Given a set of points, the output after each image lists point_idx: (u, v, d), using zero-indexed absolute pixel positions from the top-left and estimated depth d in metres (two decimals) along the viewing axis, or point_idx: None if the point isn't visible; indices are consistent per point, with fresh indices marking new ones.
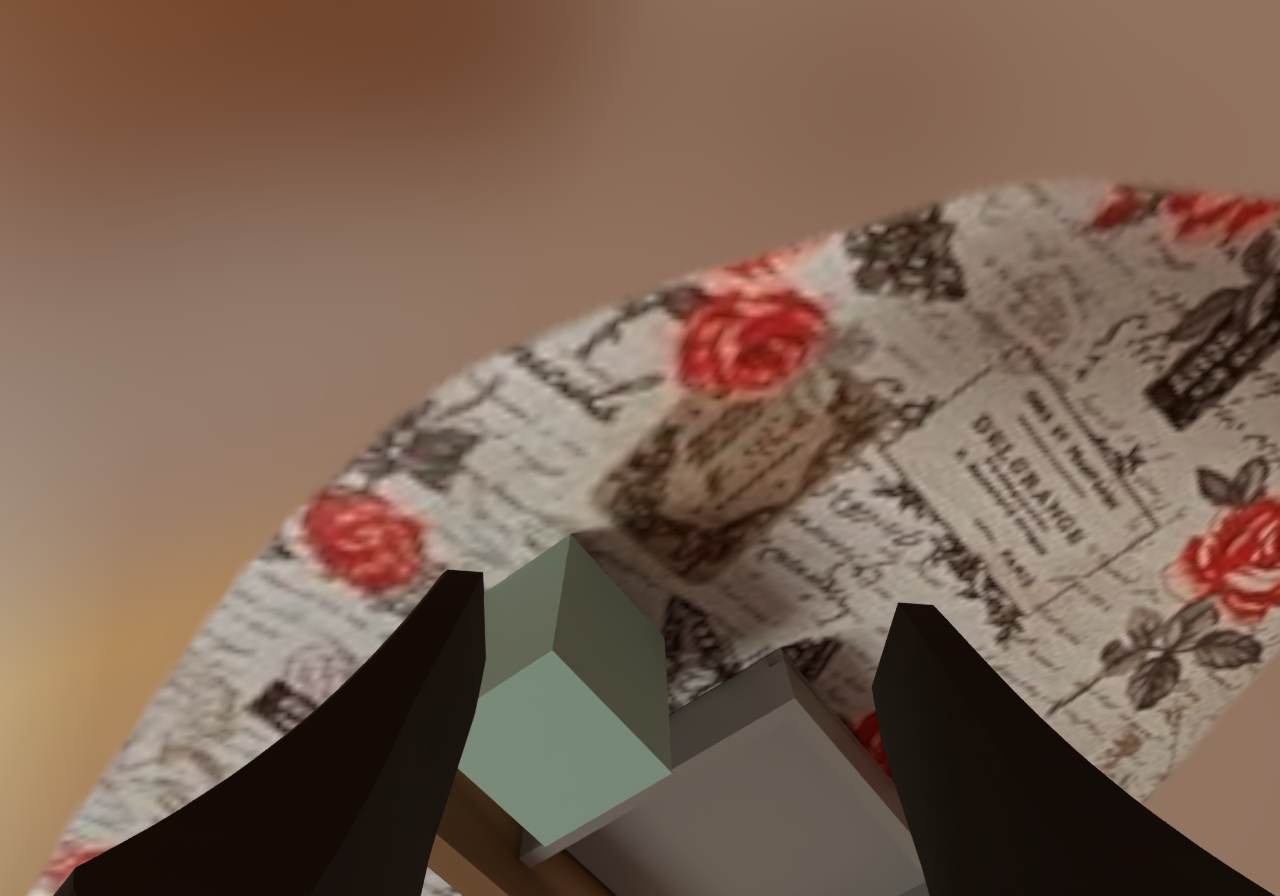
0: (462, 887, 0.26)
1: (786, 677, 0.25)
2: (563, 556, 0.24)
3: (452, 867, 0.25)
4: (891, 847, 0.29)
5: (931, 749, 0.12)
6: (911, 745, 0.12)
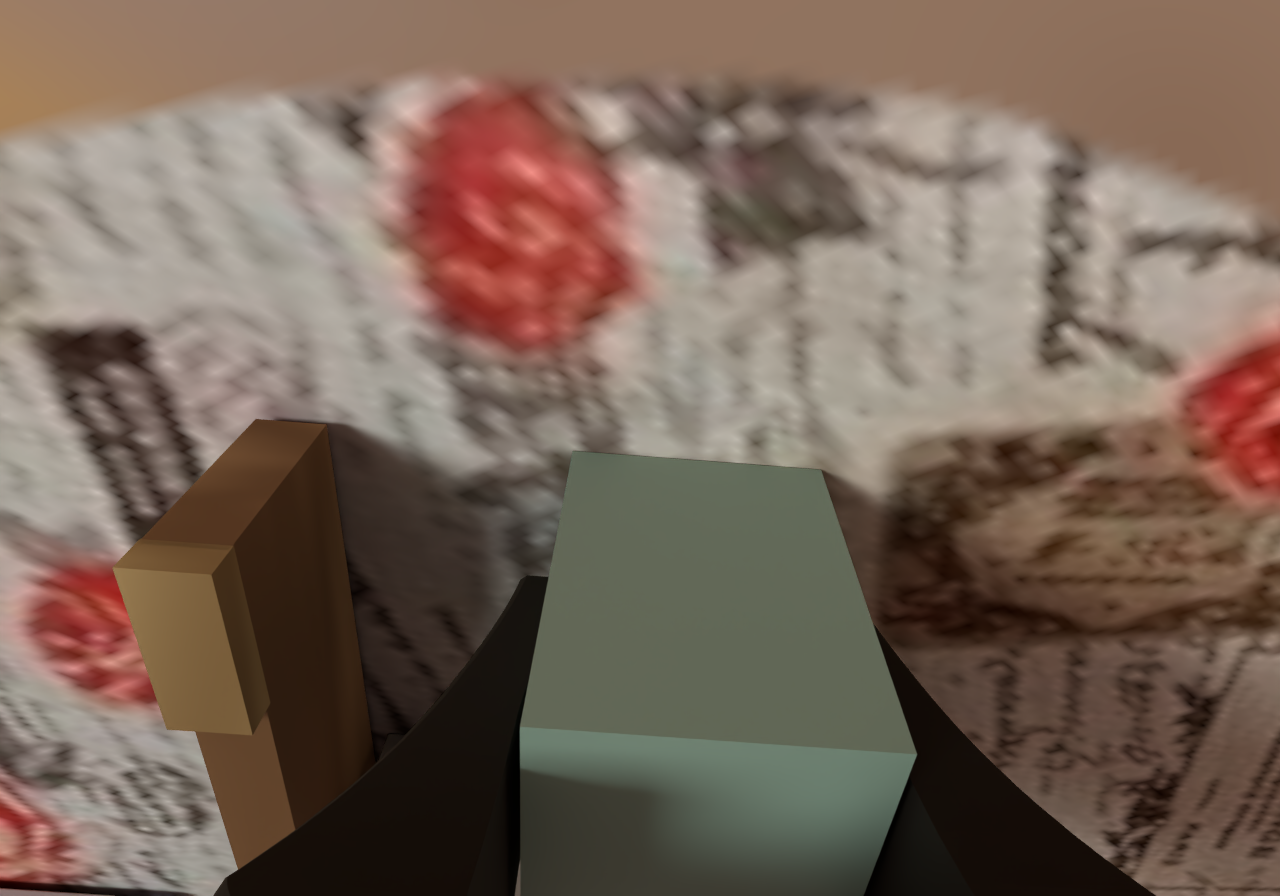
0: (249, 858, 0.14)
1: None
2: (825, 509, 0.13)
3: (260, 828, 0.13)
4: None
5: None
6: None
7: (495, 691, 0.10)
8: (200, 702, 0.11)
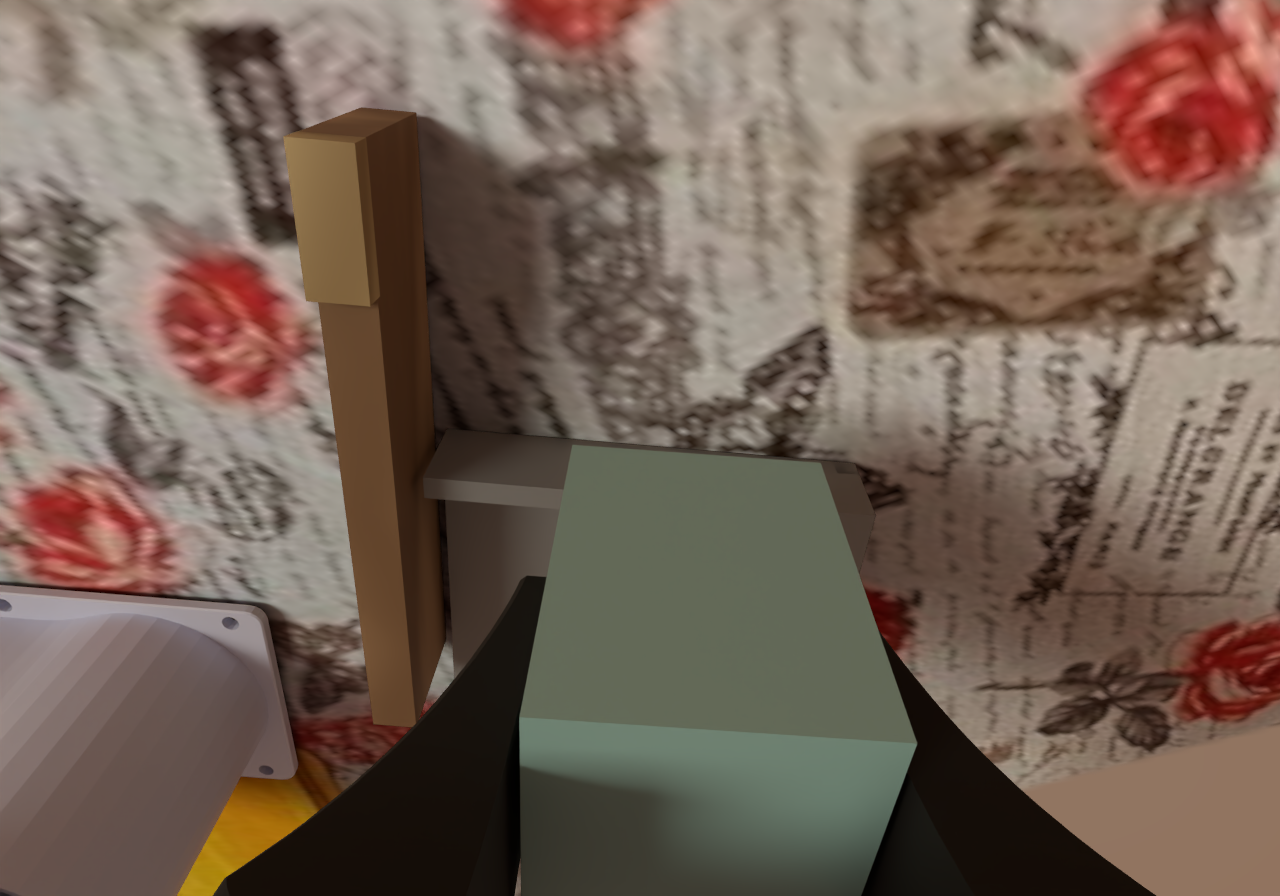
0: (350, 460, 0.18)
1: (863, 492, 0.20)
2: (825, 502, 0.13)
3: (362, 427, 0.17)
4: None
5: None
6: None
7: (494, 691, 0.10)
8: (334, 271, 0.15)
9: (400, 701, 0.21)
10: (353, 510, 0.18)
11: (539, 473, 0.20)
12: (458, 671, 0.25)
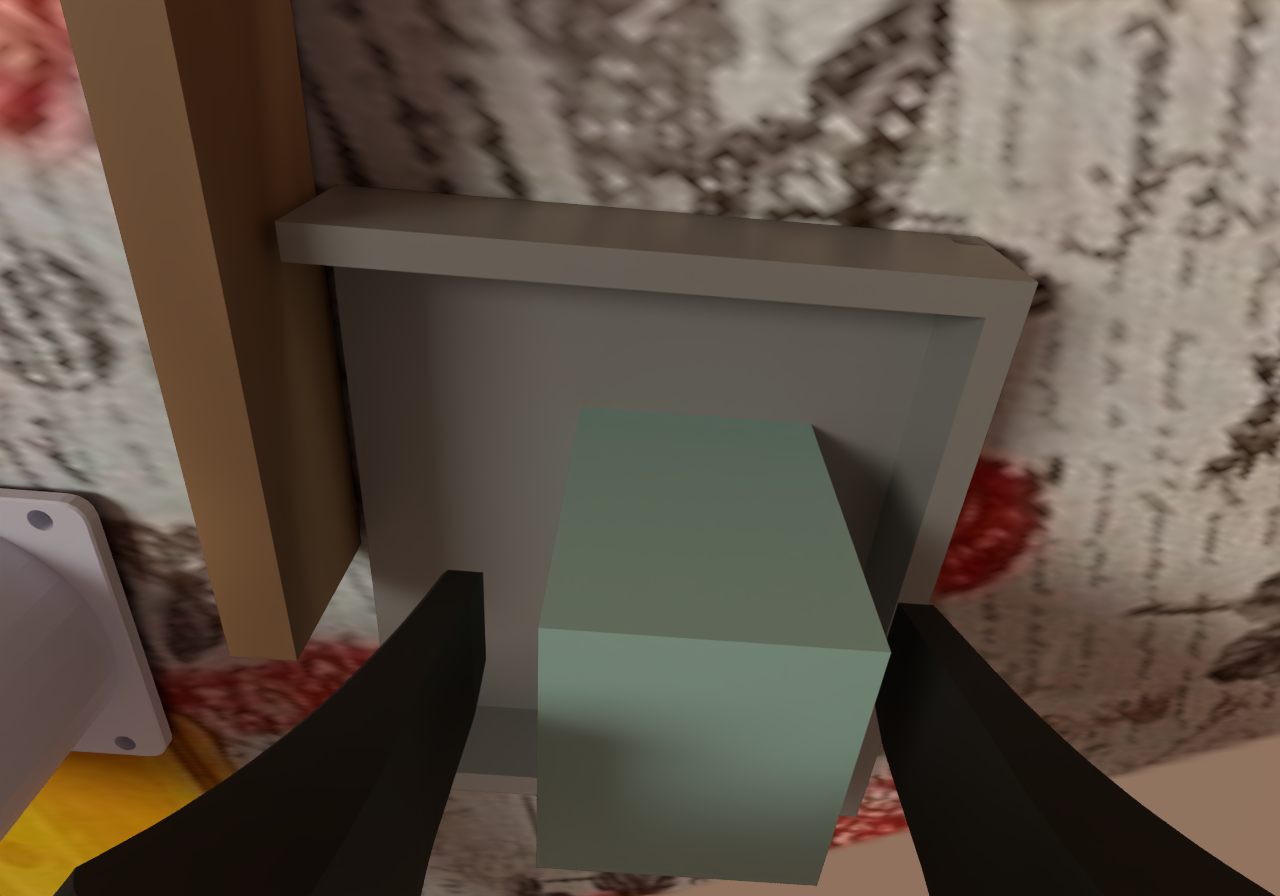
0: (119, 146, 0.10)
1: (1005, 261, 0.12)
2: (814, 457, 0.14)
3: (129, 72, 0.09)
4: None
5: (931, 749, 0.12)
6: (911, 745, 0.12)
7: (393, 684, 0.10)
8: None
9: (267, 617, 0.14)
10: (141, 256, 0.10)
11: (475, 225, 0.12)
12: (380, 592, 0.17)
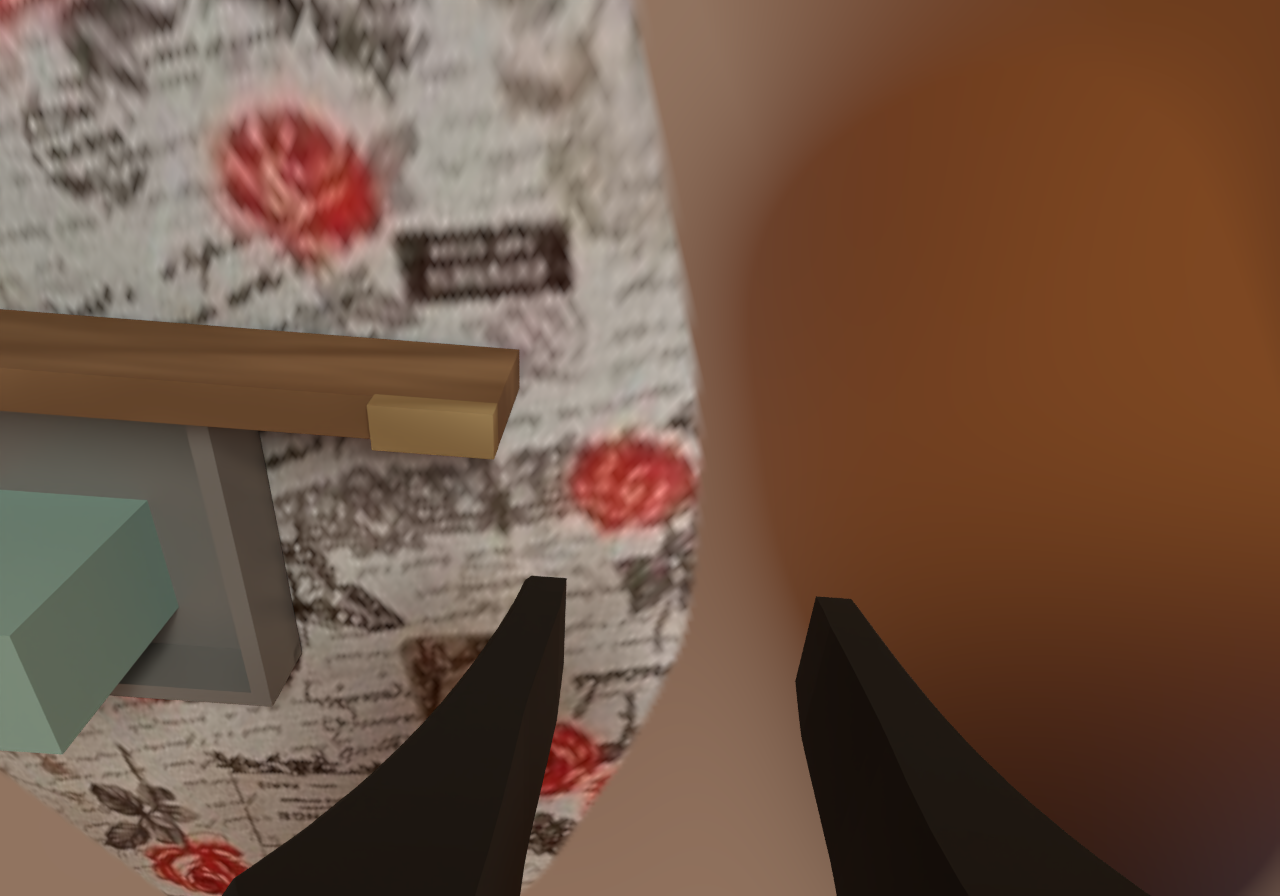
0: (214, 393, 0.19)
1: (284, 681, 0.27)
2: (157, 630, 0.26)
3: (252, 409, 0.19)
4: None
5: (838, 743, 0.12)
6: (823, 739, 0.12)
7: (501, 692, 0.10)
8: (395, 430, 0.19)
9: None
10: (156, 387, 0.19)
11: (234, 487, 0.23)
12: None
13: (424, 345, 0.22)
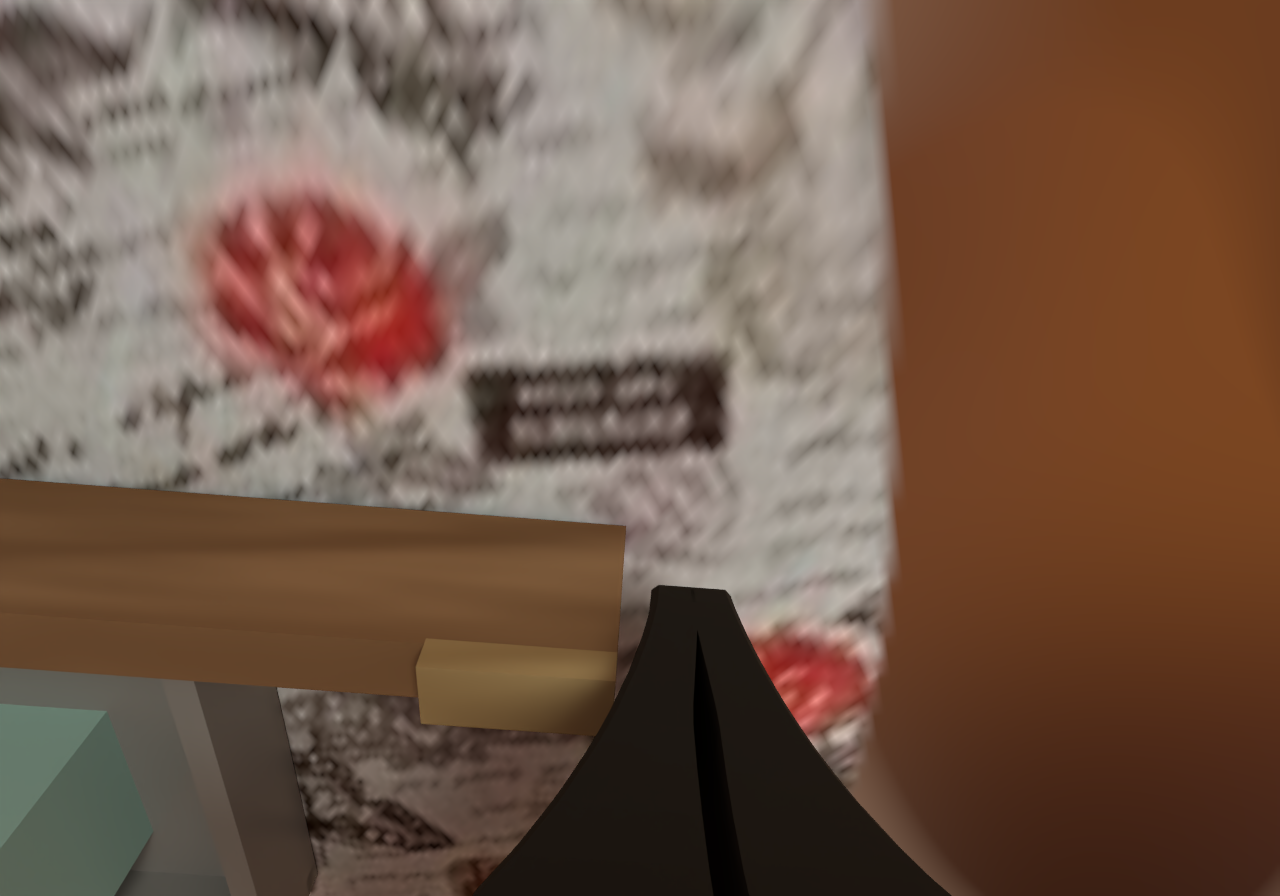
0: (175, 638, 0.12)
1: None
2: (122, 876, 0.19)
3: (236, 657, 0.12)
4: None
5: (696, 733, 0.12)
6: None
7: (665, 703, 0.10)
8: (459, 699, 0.12)
9: None
10: (85, 628, 0.12)
11: (227, 717, 0.16)
12: None
13: (490, 521, 0.15)
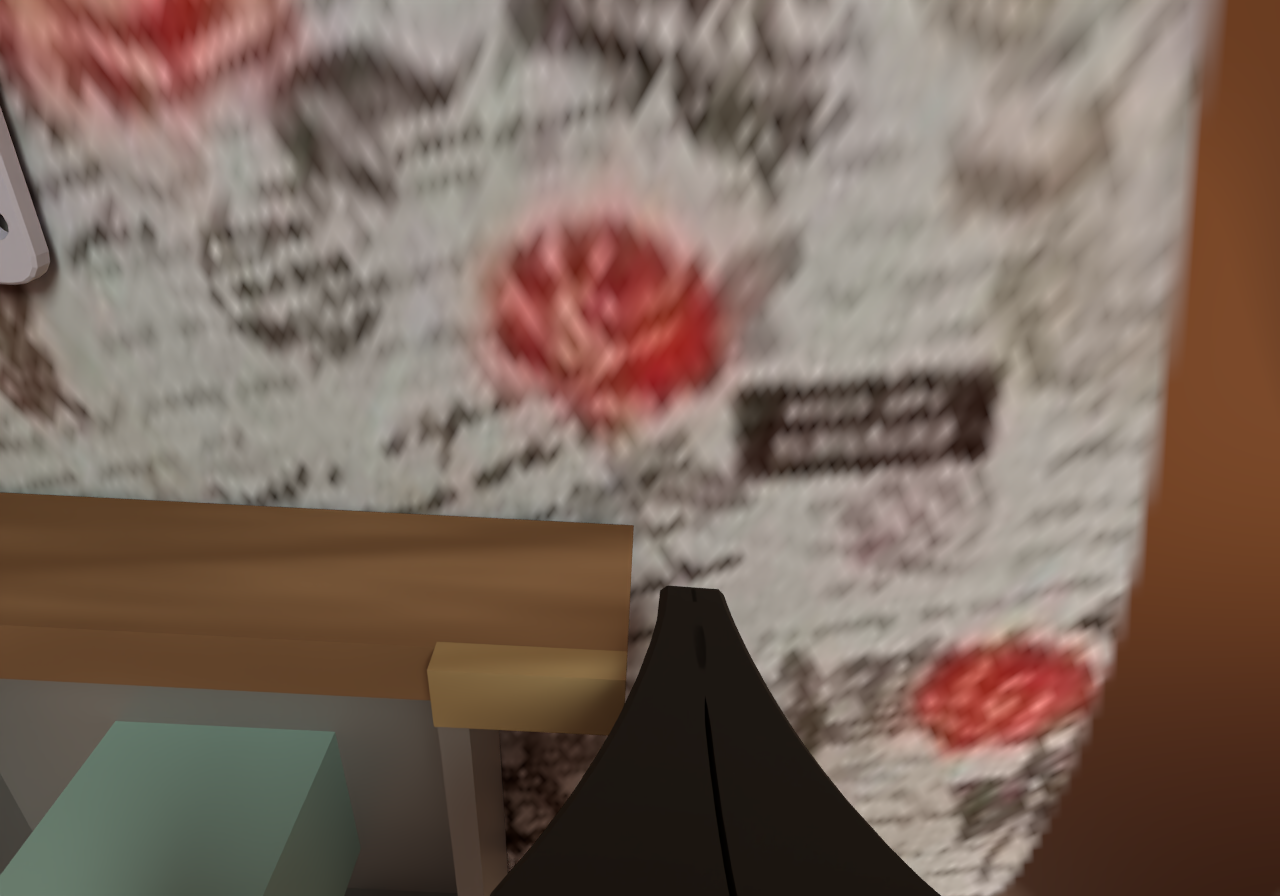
0: (190, 646, 0.12)
1: None
2: (342, 894, 0.19)
3: (249, 665, 0.12)
4: None
5: None
6: None
7: (676, 704, 0.10)
8: (471, 701, 0.12)
9: None
10: (100, 639, 0.12)
11: (478, 736, 0.16)
12: None
13: (498, 524, 0.15)
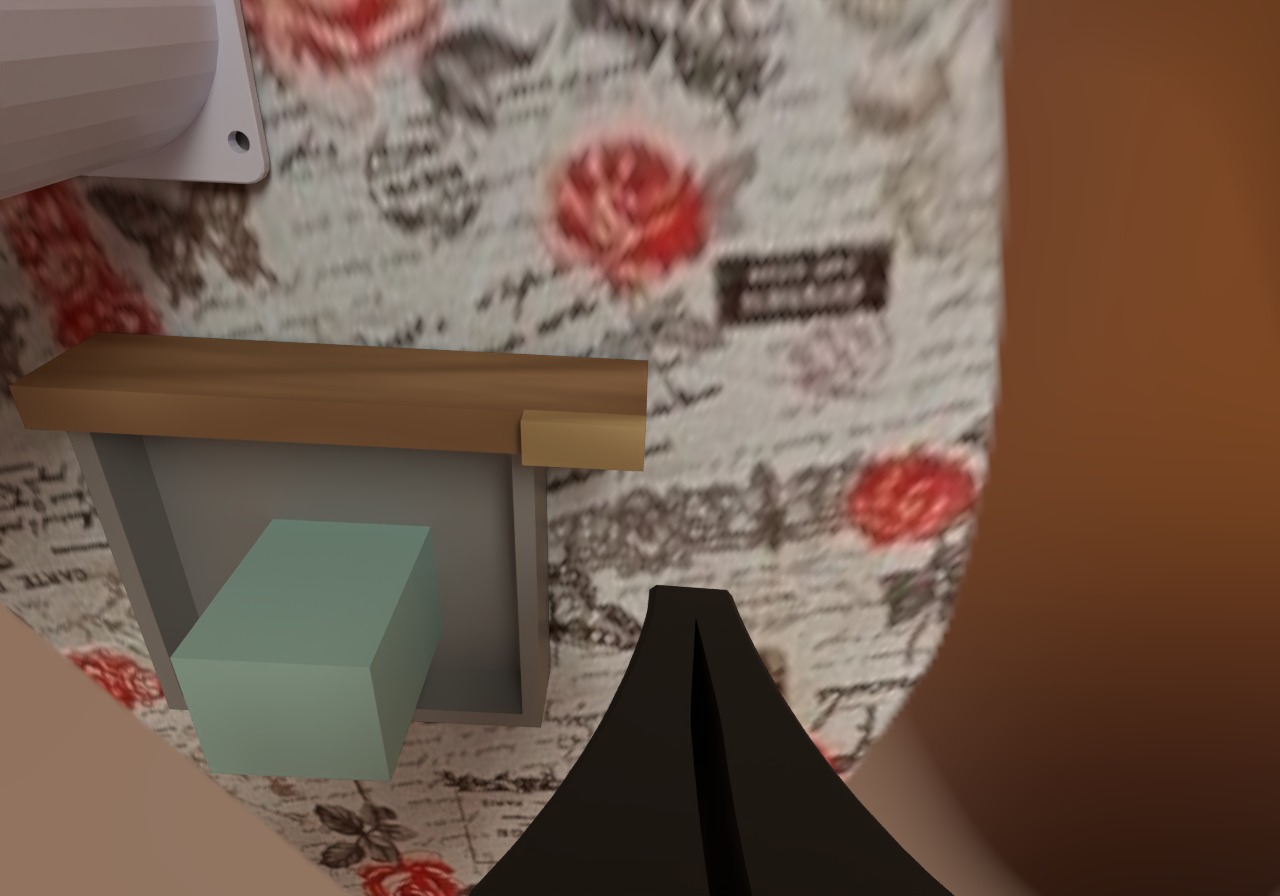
0: (366, 413, 0.19)
1: (544, 701, 0.27)
2: (432, 654, 0.26)
3: (403, 427, 0.19)
4: None
5: (698, 733, 0.12)
6: None
7: (662, 703, 0.10)
8: (547, 445, 0.19)
9: (60, 418, 0.20)
10: (309, 408, 0.19)
11: (538, 512, 0.23)
12: None
13: (555, 358, 0.22)
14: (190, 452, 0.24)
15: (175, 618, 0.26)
